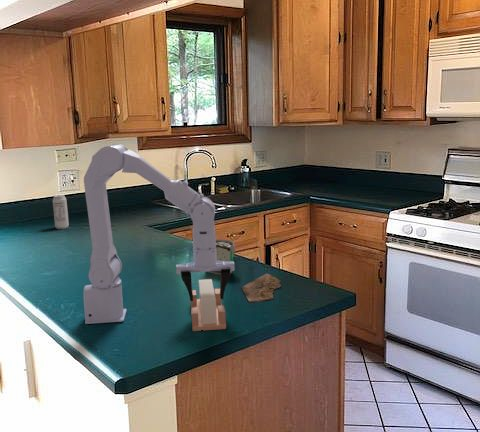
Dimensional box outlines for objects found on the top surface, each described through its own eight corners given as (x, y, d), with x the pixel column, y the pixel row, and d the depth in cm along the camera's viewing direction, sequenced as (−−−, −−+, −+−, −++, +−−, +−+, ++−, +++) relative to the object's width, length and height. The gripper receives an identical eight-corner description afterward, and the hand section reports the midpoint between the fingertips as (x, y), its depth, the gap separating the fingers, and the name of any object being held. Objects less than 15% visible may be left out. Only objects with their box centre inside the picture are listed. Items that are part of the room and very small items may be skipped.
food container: (243, 271, 172) (243, 241, 170) (232, 276, 167) (232, 245, 165) (213, 266, 178) (212, 237, 177) (202, 270, 174) (200, 241, 172)
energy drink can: (71, 226, 248) (68, 194, 245) (65, 229, 242) (62, 196, 239) (59, 226, 249) (56, 194, 246) (52, 229, 243) (49, 196, 240)
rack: (192, 331, 126) (191, 315, 125) (190, 303, 145) (190, 289, 144) (226, 328, 127) (225, 313, 126) (220, 301, 145) (219, 287, 145)
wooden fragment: (270, 305, 142) (270, 301, 142) (231, 302, 145) (231, 298, 145) (288, 276, 167) (288, 273, 166) (254, 274, 170) (254, 271, 169)
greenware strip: (202, 324, 127) (201, 300, 126) (199, 301, 143) (198, 279, 142) (216, 323, 128) (215, 299, 127) (212, 300, 143) (211, 279, 142)
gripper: (175, 252, 128) (178, 306, 130) (235, 249, 129) (236, 302, 132) (175, 245, 134) (178, 296, 137) (232, 242, 136) (233, 292, 139)
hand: (206, 298), depth 135 cm, fingers open, 7 cm apart
